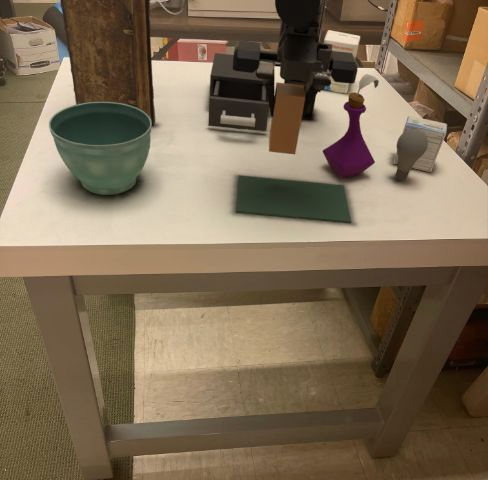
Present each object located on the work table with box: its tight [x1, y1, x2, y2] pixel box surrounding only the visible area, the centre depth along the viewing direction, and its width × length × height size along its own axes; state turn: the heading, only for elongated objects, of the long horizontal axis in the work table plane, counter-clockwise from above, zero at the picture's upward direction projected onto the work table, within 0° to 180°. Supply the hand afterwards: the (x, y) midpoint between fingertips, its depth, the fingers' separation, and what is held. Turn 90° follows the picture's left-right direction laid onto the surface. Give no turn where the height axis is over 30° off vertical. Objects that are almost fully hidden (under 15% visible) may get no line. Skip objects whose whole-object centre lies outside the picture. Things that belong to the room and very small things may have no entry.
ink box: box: [323, 29, 361, 94], centre depth 126 cm, size 9×8×12 cm
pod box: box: [268, 82, 305, 155], centre depth 82 cm, size 4×5×10 cm
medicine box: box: [392, 115, 448, 173], centre depth 100 cm, size 8×4×9 cm, turn 71°
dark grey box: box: [209, 52, 268, 102], centre depth 115 cm, size 15×14×8 cm
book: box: [59, 0, 156, 126], centre depth 96 cm, size 17×7×25 cm, turn 62°
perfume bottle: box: [322, 73, 380, 179], centre depth 91 cm, size 8×8×18 cm
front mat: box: [235, 174, 352, 224], centre depth 89 cm, size 20×12×1 cm, turn 88°
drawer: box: [207, 80, 270, 133], centre depth 106 cm, size 18×12×6 cm
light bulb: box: [394, 129, 428, 181], centre depth 94 cm, size 6×6×10 cm
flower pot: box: [48, 102, 153, 196], centre depth 84 cm, size 16×16×11 cm
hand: (286, 117), depth 82 cm, fingers closed on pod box, 4 cm apart
